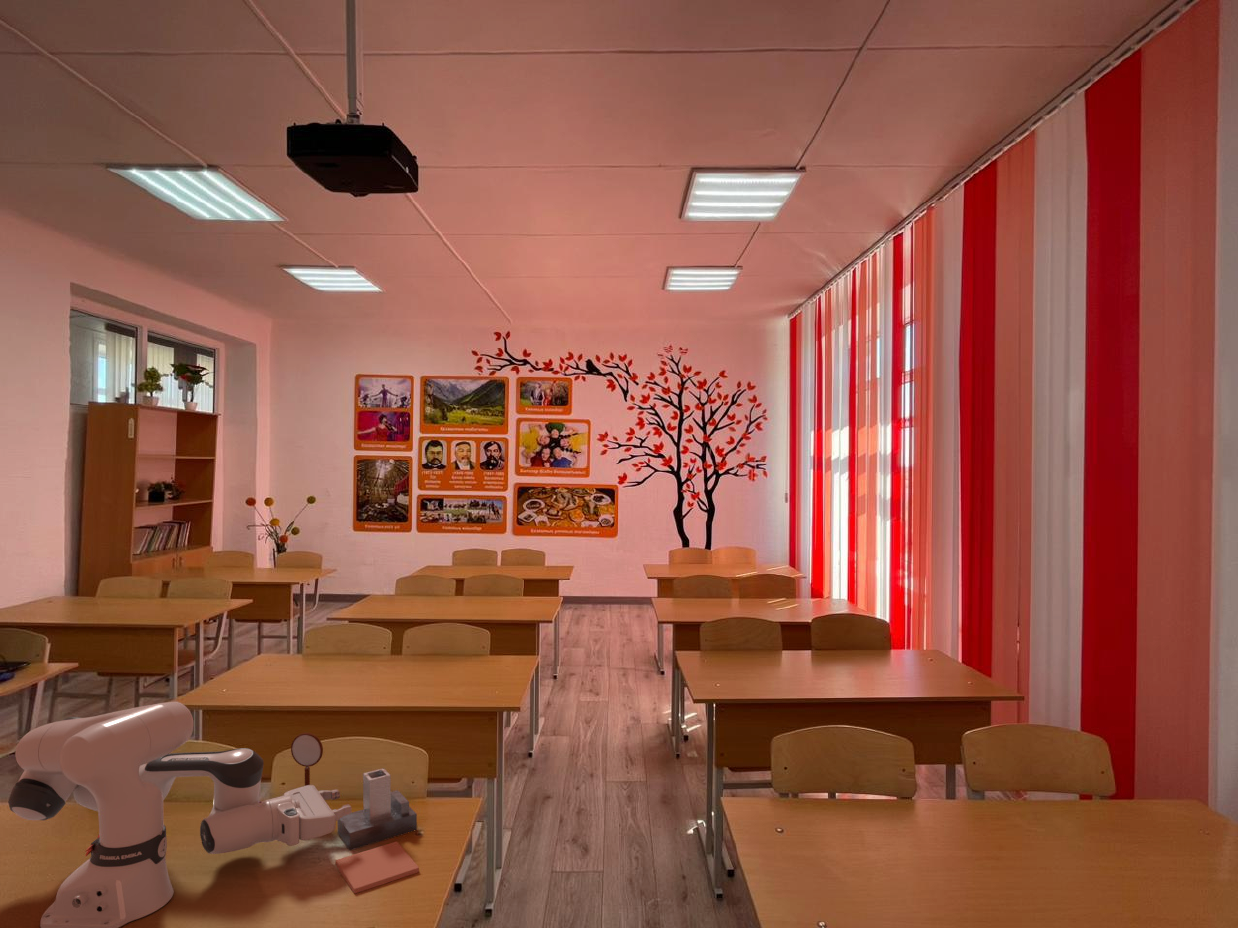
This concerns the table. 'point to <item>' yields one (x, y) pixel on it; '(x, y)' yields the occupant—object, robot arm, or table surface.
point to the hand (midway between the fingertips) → (344, 800)
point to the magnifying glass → (307, 752)
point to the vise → (377, 824)
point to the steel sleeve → (377, 794)
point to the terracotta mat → (376, 867)
